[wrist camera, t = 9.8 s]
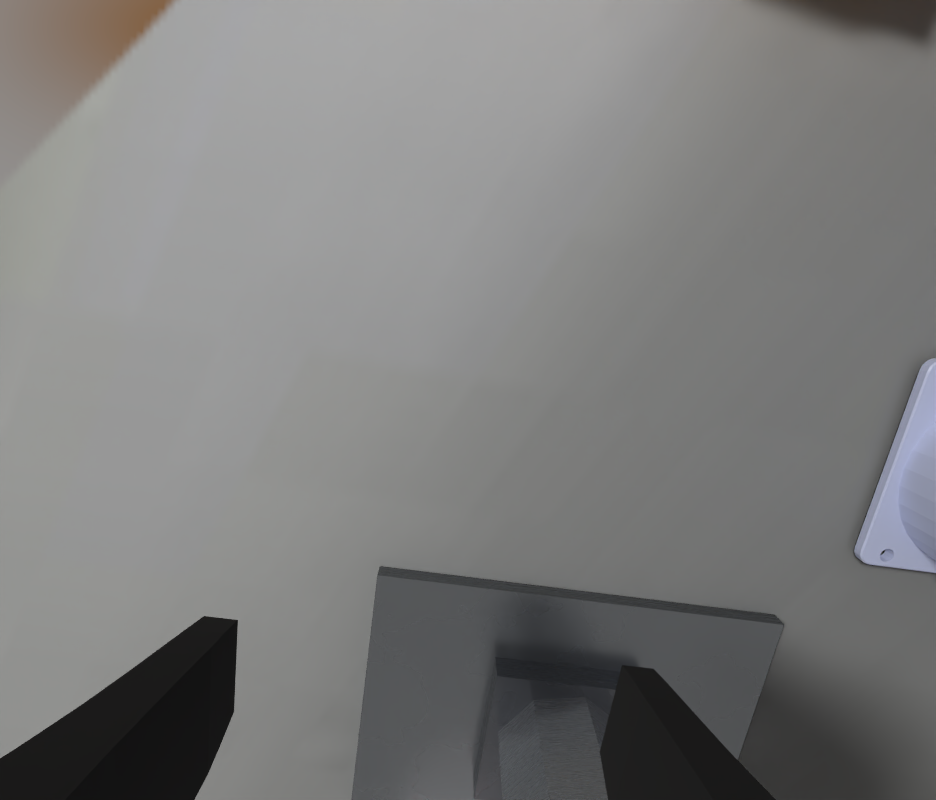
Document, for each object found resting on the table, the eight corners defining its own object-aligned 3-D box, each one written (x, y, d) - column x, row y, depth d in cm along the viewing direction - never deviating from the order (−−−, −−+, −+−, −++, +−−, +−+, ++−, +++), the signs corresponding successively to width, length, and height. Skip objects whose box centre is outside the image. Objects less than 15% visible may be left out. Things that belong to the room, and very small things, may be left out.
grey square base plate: (774, 614, 21) (891, 743, 15) (699, 838, 24) (773, 1016, 18) (379, 566, 20) (347, 682, 14) (352, 803, 23) (316, 977, 17)
